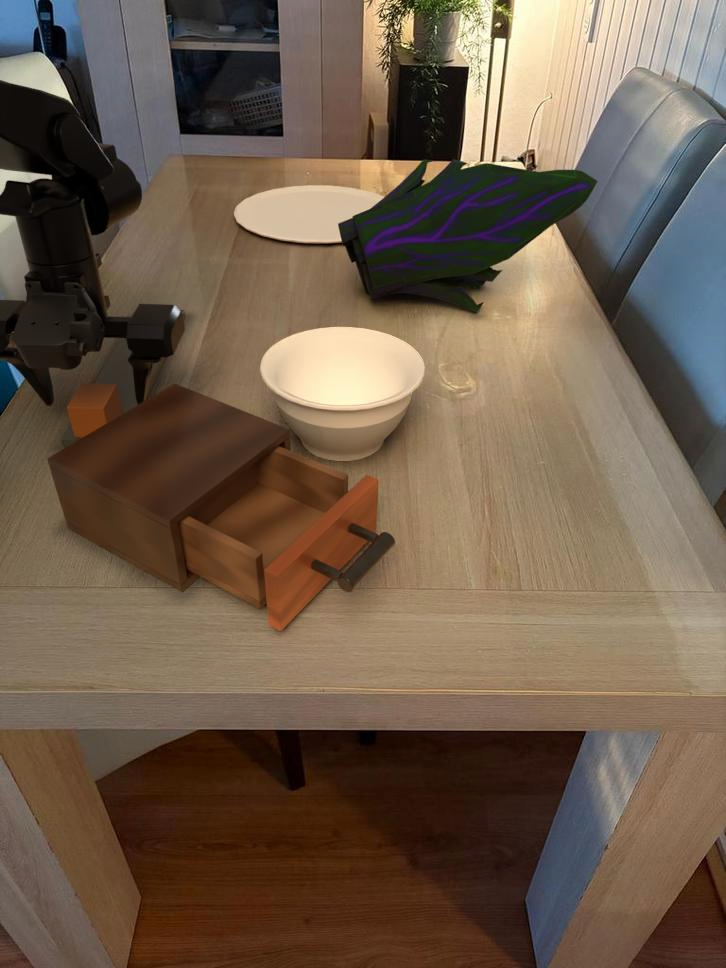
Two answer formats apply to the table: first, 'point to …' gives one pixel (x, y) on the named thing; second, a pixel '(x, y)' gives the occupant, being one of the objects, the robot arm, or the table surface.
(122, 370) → the board
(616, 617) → the table surface
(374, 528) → the drawer
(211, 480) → the cabinet
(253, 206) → the plate
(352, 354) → the bowl
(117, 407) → the orange cube block
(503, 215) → the decorative plant
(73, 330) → the robot arm
